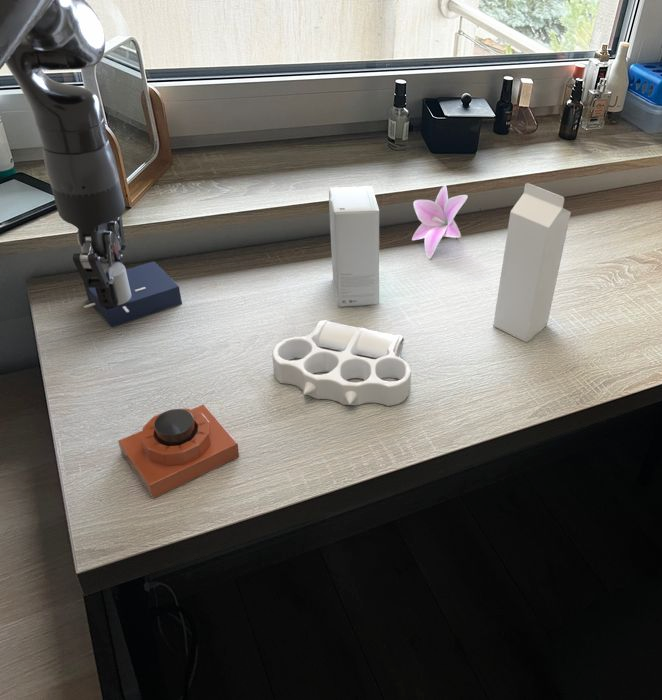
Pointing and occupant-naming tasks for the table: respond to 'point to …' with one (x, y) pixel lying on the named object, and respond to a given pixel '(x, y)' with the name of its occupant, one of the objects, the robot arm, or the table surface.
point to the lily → (437, 219)
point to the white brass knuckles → (344, 365)
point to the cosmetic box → (354, 245)
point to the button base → (178, 453)
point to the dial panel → (140, 295)
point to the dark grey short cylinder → (175, 427)
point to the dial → (121, 283)
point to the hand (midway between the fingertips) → (114, 294)
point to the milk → (531, 262)
